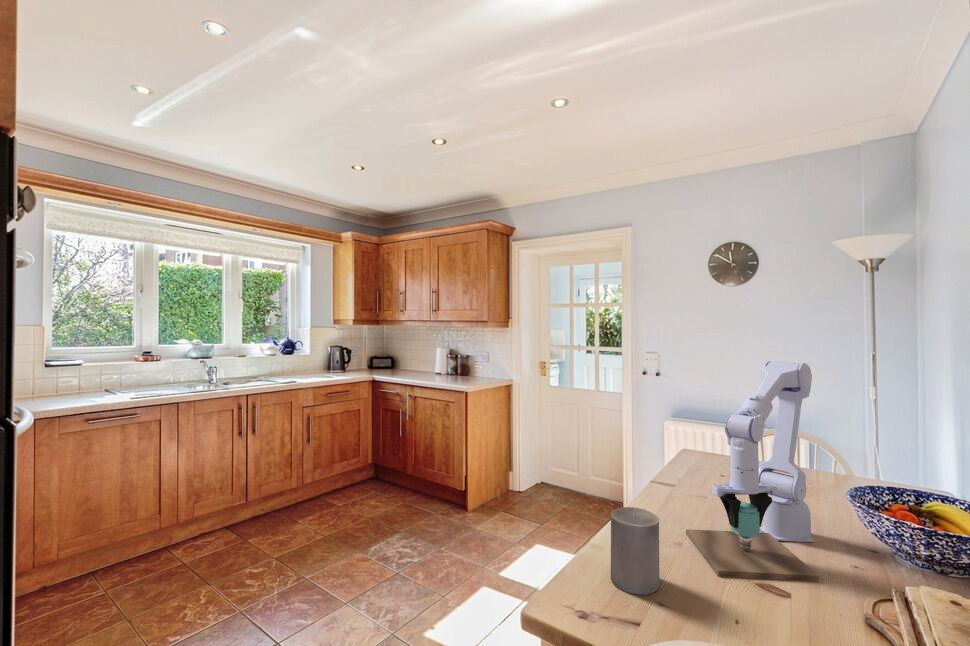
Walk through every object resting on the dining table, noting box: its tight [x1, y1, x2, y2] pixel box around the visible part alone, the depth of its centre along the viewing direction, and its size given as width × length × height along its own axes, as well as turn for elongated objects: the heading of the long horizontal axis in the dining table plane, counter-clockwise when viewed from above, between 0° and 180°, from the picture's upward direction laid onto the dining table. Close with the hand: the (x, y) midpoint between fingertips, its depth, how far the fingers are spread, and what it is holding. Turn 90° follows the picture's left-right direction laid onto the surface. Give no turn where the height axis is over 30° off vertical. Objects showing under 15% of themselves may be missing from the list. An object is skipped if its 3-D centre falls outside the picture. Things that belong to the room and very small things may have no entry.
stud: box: [739, 535, 751, 550], centre depth 104 cm, size 2×2×5 cm
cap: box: [730, 501, 761, 538], centre depth 104 cm, size 5×6×6 cm
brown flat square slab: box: [685, 529, 820, 582], centre depth 104 cm, size 20×20×1 cm
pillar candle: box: [610, 506, 661, 596], centre depth 93 cm, size 10×10×15 cm
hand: (745, 525), depth 104 cm, fingers closed on cap, 5 cm apart
